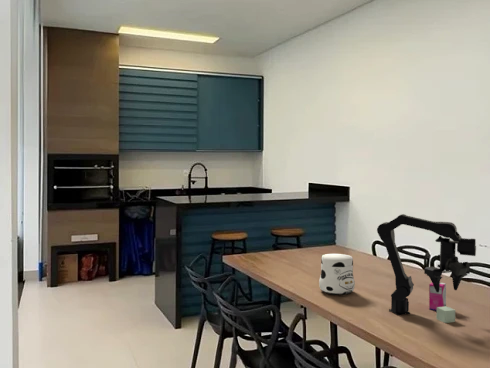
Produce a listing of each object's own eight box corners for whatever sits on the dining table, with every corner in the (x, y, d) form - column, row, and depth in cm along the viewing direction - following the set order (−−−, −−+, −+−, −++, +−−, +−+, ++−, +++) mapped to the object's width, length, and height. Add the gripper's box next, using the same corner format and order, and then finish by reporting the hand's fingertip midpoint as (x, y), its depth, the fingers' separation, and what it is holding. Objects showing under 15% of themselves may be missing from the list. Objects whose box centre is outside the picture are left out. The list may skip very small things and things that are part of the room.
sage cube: (445, 323, 186) (445, 311, 186) (436, 319, 191) (436, 307, 190) (455, 322, 187) (455, 309, 187) (446, 318, 192) (446, 306, 192)
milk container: (352, 299, 218) (352, 261, 217) (315, 295, 224) (316, 258, 223) (356, 289, 234) (357, 254, 233) (322, 286, 240) (323, 252, 239)
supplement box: (432, 306, 208) (433, 281, 207) (446, 308, 204) (447, 283, 203) (428, 309, 203) (429, 283, 203) (442, 312, 199) (443, 286, 199)
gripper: (444, 258, 178) (442, 298, 178) (481, 255, 184) (480, 294, 185) (423, 253, 188) (422, 291, 189) (459, 250, 194) (458, 287, 195)
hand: (446, 291), depth 189 cm, fingers open, 9 cm apart
